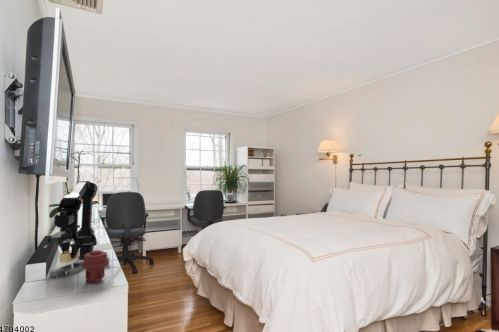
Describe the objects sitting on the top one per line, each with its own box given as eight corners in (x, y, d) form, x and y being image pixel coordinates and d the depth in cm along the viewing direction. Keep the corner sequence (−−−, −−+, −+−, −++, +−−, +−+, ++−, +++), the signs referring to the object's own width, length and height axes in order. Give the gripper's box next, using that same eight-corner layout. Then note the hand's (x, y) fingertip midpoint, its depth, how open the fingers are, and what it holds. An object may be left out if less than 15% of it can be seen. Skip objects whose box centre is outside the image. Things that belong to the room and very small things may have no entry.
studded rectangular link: (75, 265, 139) (75, 259, 139) (90, 266, 137) (90, 260, 137) (45, 276, 124) (45, 269, 124) (62, 278, 122) (62, 271, 122)
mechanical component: (105, 284, 115) (77, 287, 112) (110, 276, 124) (85, 278, 122) (106, 253, 115) (78, 255, 113) (111, 247, 125) (85, 249, 122)
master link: (72, 258, 134) (72, 247, 135) (78, 258, 134) (78, 248, 134) (59, 262, 128) (60, 251, 128) (66, 262, 127) (66, 252, 127)
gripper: (37, 226, 125) (36, 261, 125) (73, 227, 121) (72, 264, 121) (59, 222, 136) (58, 255, 136) (92, 223, 132) (92, 257, 132)
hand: (69, 258), depth 131 cm, fingers closed on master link, 3 cm apart
